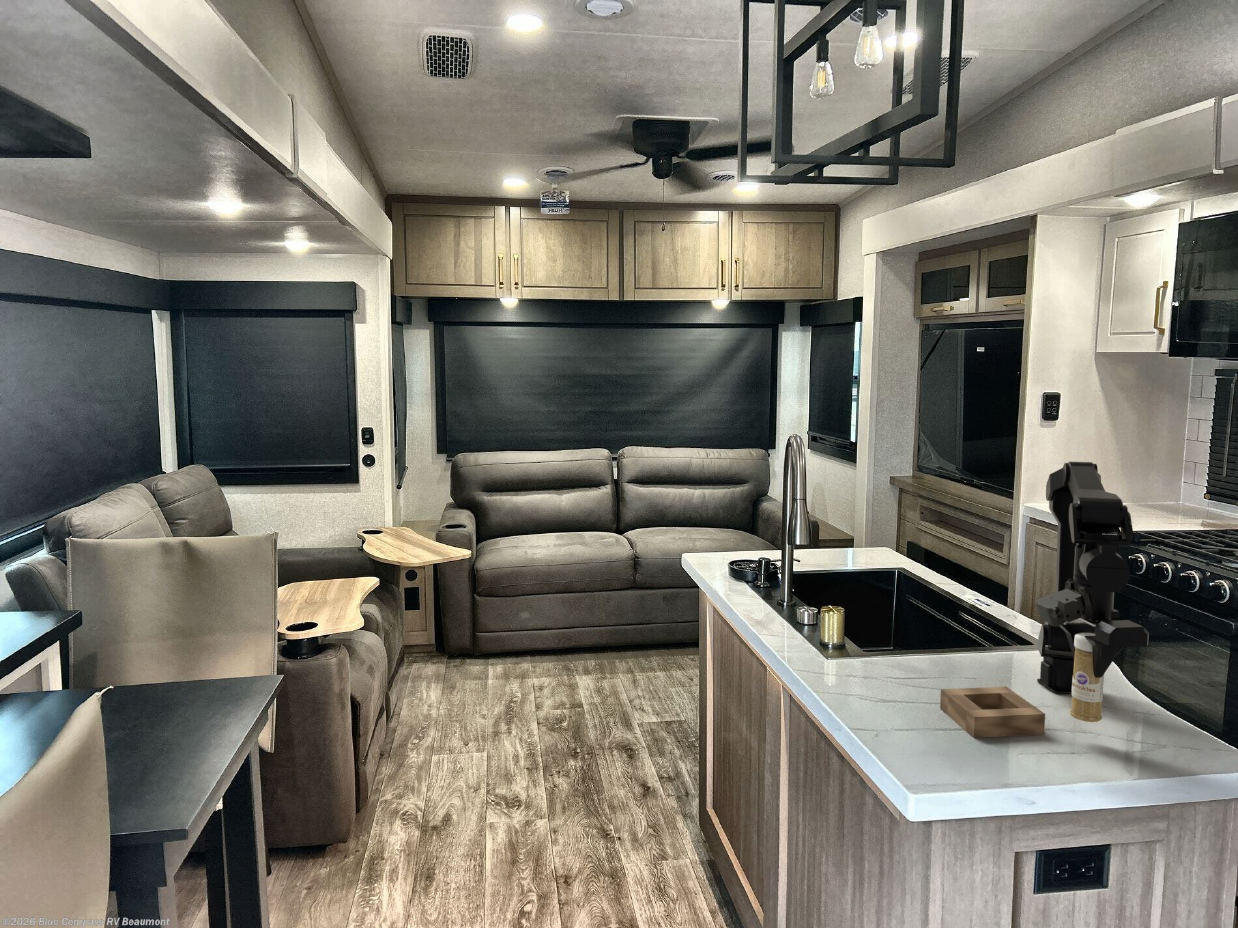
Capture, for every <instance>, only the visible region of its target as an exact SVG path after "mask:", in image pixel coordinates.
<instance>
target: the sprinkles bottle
mask: <svg viewBox="0 0 1238 928" xmlns="http://www.w3.org/2000/svg"><path fill="white" fill-rule="evenodd" d="M1085 636H1096V635H1095V633H1094V634H1093V633H1078V634H1076V635H1075V638H1074V646H1075V658H1074V671H1073V679H1072V693H1071V706H1070V708H1071V709H1070V711H1069V713H1070V715H1071V716H1072V717H1073V718H1074V719H1076V720H1078V721H1081V722H1082V721H1083V722H1087V723H1097V722H1100V721H1101V720H1102V718H1103V716H1102V709H1103V708H1102V707H1103V699H1104V698H1103V697H1104V685H1105V684H1104V682H1105V674H1104V675H1103V676H1102V677H1101V678H1096V677H1094V671H1093V652H1092V645H1091V644H1090V642H1089V641H1088V640H1087V639H1086V638H1085Z"/></svg>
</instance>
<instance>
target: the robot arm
mask: <svg viewBox="0 0 1238 928" xmlns="http://www.w3.org/2000/svg"><path fill="white" fill-rule="evenodd" d="M1098 470H1099V469H1098V464H1097V463H1094V462H1092V461H1068V462H1064V463H1063V466H1062V467H1061V468H1060V469H1057V470H1055V471H1053V472H1051V473H1050V474H1049V475H1048V478H1047V481H1046V486H1045V500H1046V501H1047V502H1049V503H1048V508H1049V511H1050V512H1051V514H1052V516H1053V517H1054V519H1055V522H1057V536H1056V537H1057V539H1056V541H1057V543H1056V567H1055V568H1056V569H1055V571H1056V573H1055V591H1054V592H1052V593H1050V594H1049V593H1048V594H1047V595H1045V596H1042V597H1040V598H1037V599H1035V601H1034V604H1035V607H1036V611H1037V613H1038V616H1039V620H1040V621H1042V622H1044V624H1043V623H1042V624H1041V626H1040V630H1039V632H1038V633H1039V635H1038V639H1037V641H1038V642H1037V649H1038V653H1039V655H1040V657H1043V658H1042V661H1041V662H1040V671H1039V672H1040V674H1039V675H1040V676H1039V678H1037V680H1036V681H1037V683H1039V684H1041V685H1042V686H1044V687H1045V688H1047V689H1048V690H1049V691H1051V692H1053V693H1054V694H1058V695H1059V694H1072V679H1073V671H1074V658H1075V646H1074V638H1075V635H1076V634H1078V633H1093V634H1095V635H1096V636H1085V638H1086V639H1087V640H1088V641H1089V642H1090V644H1091V645H1092V652H1093V671H1094V677H1096V678H1101V677H1102V676H1103V675H1104V676H1105V673H1107V670H1108V669H1109V667H1110V666H1111V665H1112V663H1113V662H1114V660H1115V659H1116V657H1117V656H1118V655H1119V654H1120V652H1121V651H1122V650H1123V649H1124V648H1125V647H1143V646H1144V647H1146V646H1148V645H1149V637H1150V632H1149V630H1147V629H1146V628H1145V626H1142V625H1141V624H1138V623H1136V622H1133V621H1132V620H1129V619H1123V620H1121V619H1119V618H1120V611H1119V610H1117V609H1114V604H1115V603H1114V602H1115V593H1121V591H1122V589H1123V588H1124V587H1125V586H1126V585H1128V582H1129V581H1130V578H1131V569H1130V567H1129V565H1128V563H1127V562H1126V561H1125V560H1124V559H1123V557H1122V556H1121V554H1120V551H1119V549H1120V547H1131V541H1133V539H1134V528H1133V523H1132V517H1131V516H1132V515H1131V513H1130V511H1129V510H1128V509H1129V508H1128V506H1127V505H1124V503H1123V499H1122V498H1120V496H1118V494H1115V493H1111V492H1109V491H1106V490H1105V487H1104V485H1103V483H1102V476H1101V474H1100V473H1099V472H1098ZM1112 619H1116V620H1112ZM1117 619H1119V620H1117Z"/></svg>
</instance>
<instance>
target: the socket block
mask: <svg viewBox="0 0 1238 928" xmlns="http://www.w3.org/2000/svg"><path fill="white" fill-rule="evenodd" d="M939 701H940V705H939V709H940V710H941V711H942V712H944V713H945V714H946V715H947V716H948V717H950V719H952V720H953V721H954V722H955V723H956V724H957V725H959V726H960V727H961V728H962V729H963V730H964V731H965V732H967V734H969V735H970V736H971V737H973V738H997V737H998V738H999V737H1015V736H1016V737H1017V736H1018V737H1020V736H1037V735H1039V736H1041V735H1045V728H1046V727H1045V726H1046V713H1044V711H1042V710H1041V709H1039V708H1037V707H1036V706H1034V705H1033V704H1032V703H1030V702H1029V700H1026V699H1025V698H1024V697H1022V696H1020V695H1019V694H1018V693H1017V692H1015V691H1013V690H1012V689H1011V688H1009V687H1008V686H987V687H968V688H967V687H964V688H962V687H961V688H941V689H940V700H939Z"/></svg>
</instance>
